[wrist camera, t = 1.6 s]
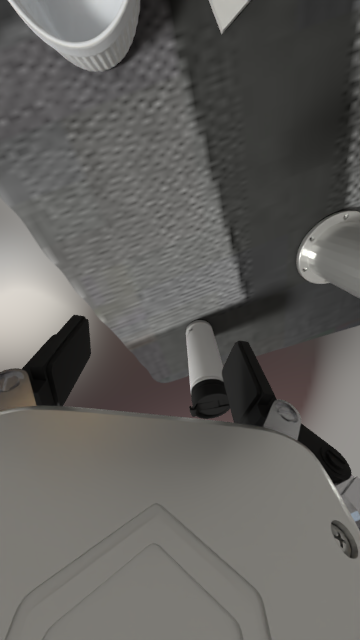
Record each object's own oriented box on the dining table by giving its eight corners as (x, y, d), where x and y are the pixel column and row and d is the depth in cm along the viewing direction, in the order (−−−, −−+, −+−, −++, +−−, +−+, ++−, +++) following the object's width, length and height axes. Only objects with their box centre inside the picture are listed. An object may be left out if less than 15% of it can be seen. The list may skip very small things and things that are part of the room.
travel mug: (181, 322, 43) (186, 401, 26) (210, 317, 42) (233, 394, 25) (187, 342, 46) (193, 424, 29) (213, 338, 46) (235, 419, 29)
